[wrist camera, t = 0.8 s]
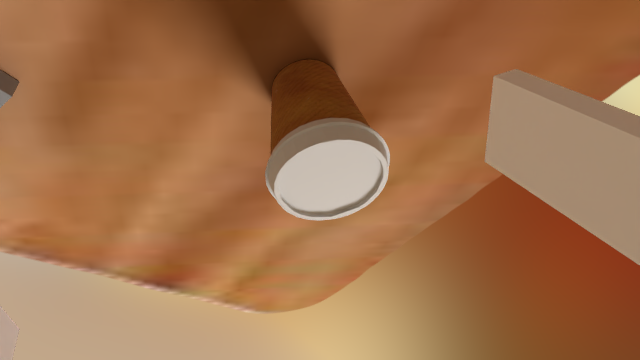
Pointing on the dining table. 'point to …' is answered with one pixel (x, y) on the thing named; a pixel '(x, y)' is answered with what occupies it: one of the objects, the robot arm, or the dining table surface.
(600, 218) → the robot arm
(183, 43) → the dining table surface
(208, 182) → the dining table surface
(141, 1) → the dining table surface
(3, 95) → the slider board
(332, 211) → the disposable coffee cup
